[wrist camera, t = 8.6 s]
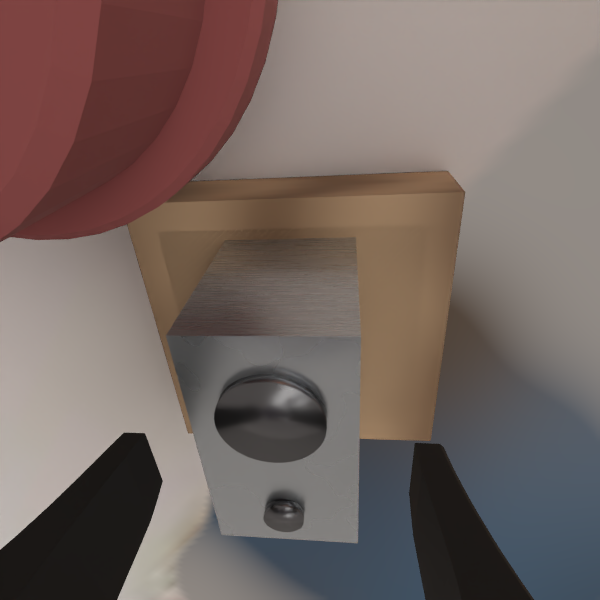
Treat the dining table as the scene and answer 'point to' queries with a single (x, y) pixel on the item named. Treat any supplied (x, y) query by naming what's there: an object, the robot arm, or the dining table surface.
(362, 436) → the stand
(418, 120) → the dining table surface
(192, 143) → the mechanical component
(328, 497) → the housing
